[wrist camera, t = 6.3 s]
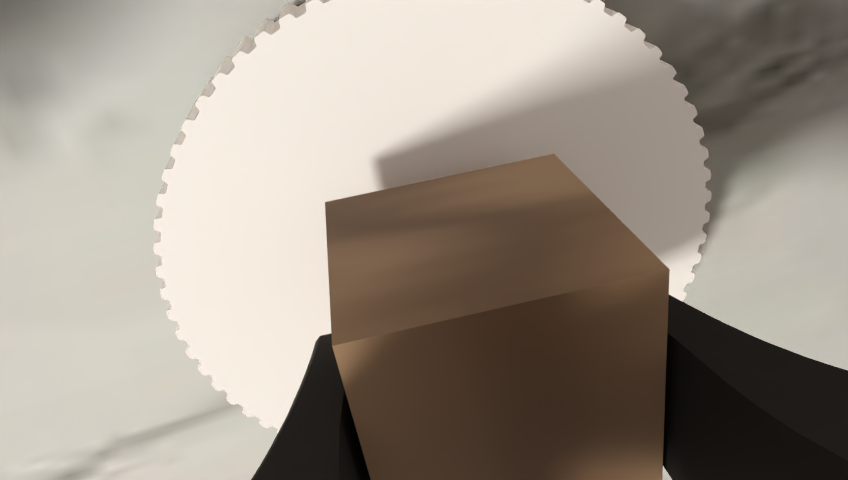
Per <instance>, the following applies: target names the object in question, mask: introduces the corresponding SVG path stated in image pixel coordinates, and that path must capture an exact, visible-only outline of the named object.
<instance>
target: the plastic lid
mask: <svg viewBox="0 0 848 480" xmlns="http://www.w3.org/2000/svg"><path fill="white" fill-rule="evenodd" d="M625 22H626V17H624V16H623V15H622V14H620V13H619V12H616V11H614V10H611V9H608V8H606V7H605V3H604V2H602V1H601V0H306V2H305V3H303V4H302V5H300V6H296V5H294V4H293V3H289V4H287V5H286V6H284V7H283V8H282V10H281V14H280V18H279V20H277V21H276V22H273V21H272V20H270V19H266V20H265V21H264V22H262V23H261V24H260V25H259V28H258V30H257V33H256V36H255V38H254V39H251V38H249V37H245V38H244V39H243V40H242V41H241V42H240V43H239V45H238V47H237V49H236V52H235V54H234V56H233V58H232V57H229V56H227V57H226V58H225V60H224V61H223V62H222V63H221V65H220V67H219V69H218V71H217V73H216V75H215V77H214V78H213V77H211V78H210V79H209V81H208V82H207V84H206V85H205V87H204V89H203V91H202V93H201V94H200V96H199V98H198V99H197V100H196V102H195V104H194V106H193V107H192V109H191V111H190V113H189V115H188V116H187V118H186V120H185V122H184V124H183V126H182V128H181V132H180V134H179V135H178V137H177V139H176V141H175V143H174V145H173V147H172V149H171V152H170V155H171V158H170V160H169V162H168V164H167V166H166V167H165V169H164V172H163V175H162V180H163V181H164V184H163V186H162V188H161V190H160V192H159V194H158V197H157V202H156V204H157V206H159V207H160V209H159V211H158V214H157V216H156V218H155V220H154V230H156V231H158V232H159V234H158V236H157V238H156V240H155V243H154V253H155V254H157V255H160V259H159V261H158V263H157V266H156V274H157V277H159V278H163V279H164V281H163V284H162V286H161V289H160V293H161V297H162V299H164V300H169V301H170V303H169V306H168V309H167V315H168V318H169V320H172V321H177V323H178V325H177V328H176V331H175V333H176V335H177V337H178V339H179V340H186V341H187V343H188V344H187V348H186V353H187V355H188V356H189V358H191V359H192V358H197V359H198V361H199V366H198V370H199V371H200V373H201V374H202V375H210V376H211V377H212V378H213V380H212V386H213V387H214V389H215V390H216V391H220V390H224V391H225V392H226V393H227V399H226V400H227V401H228V402H229V403H231V404H232V405H235V404H240V405H241V406H242V407H243V412H242V413H243V414H245V415H246V416H247V417H252V416H256V417H257V418H259V419H260V425H261V426H263V427H265V428H269V427H274V428H276V429H278V431H277V434H278V432H279V430H280V428H281V426H282V424H283V422H284V420H285V419H286V417H287V414H288V412H289V410H290V408H291V406H292V403H293V401H294V399H295V396H296V394H297V392H298V390H299V387H300V385H301V383H302V380H303V377H304V375H305V372H306V370H307V367H308V364H309V361H310V358H311V355H312V352H313V349H314V346H315V342H316V340H317V339H318V338H319V336H322V335H326V334H331V315H330V295H329V275H328V255H327V235H326V215H325V202H328V201H333V200H337V199H342V198H347V197H351V196H356V195H361V194H366V193H370V192H375V191H380V190H384V189H389V188H394V187H399V186H403V185H408V184H413V183H418V182H422V181H427V180H432V179H436V178H441V177H446V176H451V175H455V174H460V173H465V172H470V171H474V170H479V169H484V168H488V167H493V166H498V165H503V164H507V163H512V162H517V161H521V160H526V159H531V158H536V157H540V156H545V155H550V154H555V155H556V156H557V157H558V158H559V159H560V160H561V161H562V162H563V163H564V164H565V165H566V166H567V167H568V168H569V169H570V170H571V171H572V172H573V173H574V174H575V175H576V176H577V177H578V178H579V179H580V180H581V181H582V182H583V183H584V184H585V185H586V186H587V187H588V188H589V189H590V190H591V191H592V192H593V193H594V194H595V195H596V196H597V197H598V198H599V199H600V200H601V201H602V202H603V203H604V204H605V205H606V206H607V207H608V208H609V209H610V210H611V211H612V212H613V213H614V214H615V215H616V216H617V217H618V218H619V219H620V220H621V221H622V222H623V223H624V224H625V225H626V226H627V227H628V228H629V229H630V230H631V231H632V232H633V233H634V234H635V235H636V236H637V237H638V238H639V239H640V240H641V241H642V242H643V243H644V244H645V245H646V246H647V247H648V248H649V249H650V250H651V251H652V252H653V253H654V254H655V255H656V256H657V257H658V258H659V259H660V260H661V261H662V262H663V263H664V264H665V265H666V266H667V267H668V268H669V269H670V272H669V295H671V296H673V297H675V298H676V299H678V300H680V301H683V300H684V298H685V296H686V294H687V293H686V292H685V291H684V288H685V286H686V284H687V283H691V282H692V281H693V279H694V276H695V274H694V273H693V272H692V268H693V265H694V264H697V263H699V262H700V259H701V256H702V254H701V253H700V252H698V248H699V245H700V244H703V243H705V241H706V236H707V234H706V233H705V232H704V231H703V225H704V224H705V223H707V222H709V219H710V213H709V212H708V211H707V210H705V204H706V203H708V202H709V201H711V191H709V190H708V189H707V188H706V182H707V181H709V180H710V179H711V171H710V170H709V169H708V168H706V167H705V166H704V161H705V160H706V159H707V158H708V157H709V154H708V149H707V148H706V147H704V146H702V145H701V144H700V139H701V138H703V137H704V131H703V128H702V127H701V126H699V125H698V124H696V123H694V121H693V119H694V118H695V117H696V116H697V114H698V113H697V110H696V108H695V106H694V105H692V104H690V103H688V102H687V101H685V100H684V99H685V97H686V96H687V95H688V91H687V89H686V87H685V85H683V84H681V83H679V82H677V81H675V80H673V78H674V76H675V75H676V73H677V72H676V70H675V69H674V67H673V66H672V65H670V64H668V63H666V62H664V61H662V60H660V57H661V56H662V52H661V51H660V49H659V48H658V47H657V46H655V45H653V44H650V43H648V42H646V41H644V39H645V36H646V35H645V34H644V33H643V32H642V31H641V30H640V29H639V28H636V27H634V26H631V25H629V24H626V23H625Z"/></svg>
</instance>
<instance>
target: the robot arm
mask: <svg viewBox="0 0 848 480" xmlns="http://www.w3.org/2000/svg"><path fill="white" fill-rule="evenodd" d="M663 466H664V468H665V469H666V471H667V472H668V474H669V475H670V477H671V478H672V480H848V371H847V370H844V369H841V368H837V367H834V366H831V365H827V364H824V363H822V362H819V361H816V360H813V359H810V358H807V357H804V356H801V355H799V354H796V353H793V352H791V351H788V350H786V349H783V348H780V347H778V346H775V345H772V344H770V343H767V342H765V341H763V340H760V339H758V338H756V337H753V336H751V335H749V334H747V333H744V332H742V331H740V330H738V329H736V328H734V327H731V326H729V325H727V324H725V323H723V322H721V321H719V320H717V319H715V318H713V317H711V316H709V315H707V314H705V313H703V312H701V311H699V310H697V309H695V308H693V307H691V306H689V305H688V304H686V303H684V302H682V301H680V300H678V299H676V298H675V297H673V296H671V295H669V300H668V328H667V357H666V385H665V413H664V441H663ZM251 480H371V479H370V476H369V472H368V469H367V465H366V462H365V458H364V455H363V451H362V448H361V444H360V441H359V438H358V434H357V431H356V427H355V424H354V420H353V417H352V413H351V410H350V406H349V403H348V399H347V396H346V393H345V389H344V386H343V382H342V379H341V375H340V372H339V368H338V365H337V361H336V358H335V354H334V351H333V347H332V335H331V334H326V335H322V336H319V338H318V339H317V340H316V342H315V346H314V349H313V352H312V355H311V358H310V361H309V364H308V367H307V370H306V372H305V375H304V377H303V380H302V383H301V385H300V387H299V390H298V392H297V394H296V396H295V399H294V401H293V403H292V406H291V408H290V410H289V412H288V414H287V417H286V419H285V420H284V422H283V424H282V426H281V428H280V430H279V432H278V434H277V436H276V438H275V440H274V442H273V444H272V446H271V448H270V449H269V451H268V453H267V455H266V456H265V458H264V460H263V462H262V463H261V465H260V467H259V468H258V470H257V471H256V473H255V475H254V476H253V478H252V479H251Z"/></svg>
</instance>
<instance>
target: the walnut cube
mask: <svg viewBox="0 0 848 480" xmlns="http://www.w3.org/2000/svg"><path fill="white" fill-rule="evenodd" d="M325 215H326V235H327V255H328V275H329V295H330V315H331V335H332V347H333V351H334V354H335V358H336V361H337V365H338V368H339V372H340V375H341V379H342V382H343V386H344V389H345V393H346V396H347V399H348V403H349V406H350V410H351V413H352V417H353V420H354V424H355V427H356V431H357V434H358V438H359V441H360V444H361V448H362V451H363V455H364V458H365V462H366V465H367V469H368V472H369V476H370V479H371V480H662V469H663V441H664V413H665V385H666V357H667V328H668V300H669V272H670V269H669V268H668V267H667V266H666V265H665V264H664V263H663V262H662V261H661V260H660V259H659V258H658V257H657V256H656V255H655V254H654V253H653V252H652V251H651V250H650V249H649V248H648V247H647V246H646V245H645V244H644V243H643V242H642V241H641V240H640V239H639V238H638V237H637V236H636V235H635V234H634V233H633V232H632V231H631V230H630V229H629V228H628V227H627V226H626V225H625V224H624V223H623V222H622V221H621V220H620V219H619V218H618V217H617V216H616V215H615V214H614V213H613V212H612V211H611V210H610V209H609V208H608V207H607V206H606V205H605V204H604V203H603V202H602V201H601V200H600V199H599V198H598V197H597V196H596V195H595V194H594V193H593V192H592V191H591V190H590V189H589V188H588V187H587V186H586V185H585V184H584V183H583V182H582V181H581V180H580V179H579V178H578V177H577V176H576V175H575V174H574V173H573V172H572V171H571V170H570V169H569V168H568V167H567V166H566V165H565V164H564V163H563V162H562V161H561V160H560V159H559V158H558V157H557V156H556V155H555V154H550V155H545V156H540V157H536V158H531V159H526V160H521V161H517V162H512V163H507V164H503V165H498V166H493V167H488V168H484V169H479V170H474V171H470V172H465V173H460V174H455V175H451V176H446V177H441V178H436V179H432V180H427V181H422V182H418V183H413V184H408V185H403V186H399V187H394V188H389V189H384V190H380V191H375V192H370V193H366V194H361V195H356V196H351V197H347V198H342V199H337V200H333V201H328V202H325Z"/></svg>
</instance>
